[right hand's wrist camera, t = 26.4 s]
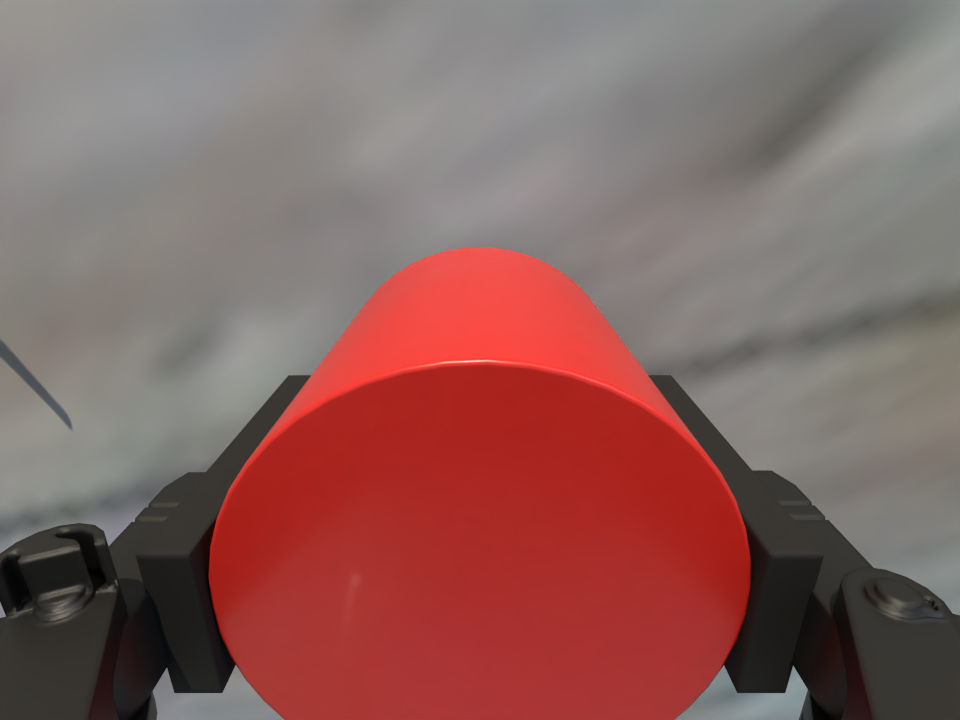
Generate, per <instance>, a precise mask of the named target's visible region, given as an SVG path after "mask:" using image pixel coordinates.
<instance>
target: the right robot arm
mask: <svg viewBox="0 0 960 720" xmlns="http://www.w3.org/2000/svg"><path fill="white" fill-rule="evenodd" d="M648 376H649V378H650V379H651V380H652V382H653V383H654V384H655V386H656V387H657V388H658V390H659V391H660V392H661V394H662V395H663V396H664V398H665V399H666V400H667V401H668V403H669V404H670V405H671V407H672V408H673V409H674V411H675V412H676V413H677V415H678V416H679V417H680V419H681V420H682V421H683V423H684V424H685V425H686V427H687V428H688V429H689V431H690V432H691V433H692V435H693V436H694V437H695V439H696V440H697V441H698V443H699V444H700V445H701V447H702V448H703V449H704V451H705V452H706V453H707V455H708V456H709V457H710V459H711V460H712V461H713V463H714V464H715V465H716V467H717V468H718V469H719V471H720V472H721V474H722V476H723V477H724V479H725V481H726V483H727V485H728V486H729V488H730V490H731V492H732V494H733V495H734V497H735V499H736V502H737V505H738V507H739V510H740V513H741V516H742V519H743V522H744V525H745V528H746V533H747V539H748V545H749V551H750V559H751V568H750V593H749V598H748V604H747V610H746V615H745V618H744V621H743V624H742V627H741V629H740V632H739V635H738V638H737V641H736V643H735V645H734V647H733V648H732V650H731V652H730V654H729V656H728V658H727V660H726V662H725V664H724V666H725V668H726V670H727V672H728V674H729V676H730V678H731V680H732V682H733V685H734V687H735V689H736V691H737V693H785V691H786V688H787V684H788V681H789V677H790V674H791V670H792V667H793V666H794V667H795V669H796V670H797V672H798V674H799V675H800V677H801V679H802V680H803V682H804V684H805V685H806V687H807V688H808V692H807V695H806V698H805V701H804V705H803V708H802V711H801V715H800V718H799V720H960V616H959V615H955V614H952V612H951V611H950V610H949V608H948V607H947V606H946V604H945V603H944V601H942V600H941V599H940V598H939V597H937V596H936V595H935V594H934V593H932V592H931V591H930V590H929V589H927V588H926V587H924V586H922V585H920V584H918V583H916V582H915V581H913V580H911V579H909V578H907V577H905V576H902V575H899V574H896V573H893V572H890V571H887V570H883V569H876V568H873V567H872V566H871V565H870V564H869V563H868V562H867V560H866V559H865V558H864V557H863V556H862V555H861V554H860V553H859V552H858V551H857V550H856V549H855V548H854V547H853V546H852V545H851V544H850V542H849V541H848V540H847V539H846V538H845V537H844V536H843V535H842V534H841V533H840V532H839V531H838V530H837V529H836V528H835V527H834V526H833V525H832V523H831V522H830V521H829V520H825V516H824V515H823V514H822V513H821V512H820V511H819V510H818V509H817V508H816V507H815V506H812V504H811V501H810V500H809V499H808V498H807V497H806V496H805V495H804V494H803V493H802V492H801V491H800V490H799V489H798V488H797V486H796V485H794V484H792V483H791V482H789V481H788V480H786V479H784V478H783V477H781V476H779V475H778V474H776V473H774V472H773V471H752V470H751V469H750V468H749V466H748V465H747V464H746V463H745V462H744V460H743V459H742V458H741V457H740V456H739V455H738V453H737V452H736V451H735V450H734V449H733V448H732V446H731V445H730V444H729V443H728V442H727V441H726V439H725V438H724V437H723V436H722V435H721V434H720V432H719V431H718V430H717V429H716V428H715V427H714V425H713V424H712V423H711V422H710V421H709V419H708V418H707V417H706V416H705V415H704V414H703V412H702V411H701V410H700V409H699V408H698V407H697V405H696V404H695V403H694V402H693V401H692V400H691V398H690V397H689V396H688V395H687V394H686V393H685V391H684V390H683V389H682V388H681V387H680V386H679V384H678V383H677V382H676V381H675V380H674V379H673V377H672V376H671V375H648ZM310 377H311V375H296V376H288V377H287V378H286V379H285V380H284V382H283V383H282V384H281V385H280V386H279V387H278V389H277V390H276V391H275V392H274V393H273V394H272V396H271V397H270V398H269V399H268V400H267V401H266V403H265V404H264V405H263V406H262V407H261V409H260V410H259V411H258V412H257V413H256V414H255V416H254V417H253V418H252V419H251V420H250V421H249V423H248V424H247V425H246V426H245V427H244V428H243V430H242V431H241V432H240V433H239V434H238V435H237V437H236V438H235V439H234V440H233V441H232V442H231V444H230V445H229V446H228V447H227V448H226V449H225V451H224V452H223V453H222V454H221V455H220V457H219V458H218V459H217V460H216V461H215V462H214V464H213V465H212V466H211V467H210V468H209V469H208V471H207V472H188V473H187V474H185V475H184V476H182V477H180V478H179V479H177V480H175V481H174V482H172V483H171V484H169V485H167V486H166V487H164V488H163V489H162V490H161V492H160V493H159V494H158V495H157V496H156V497H155V498H154V499H153V500H152V501H151V502H150V503H149V506H148V508H145V509H144V510H143V511H142V512H141V513H140V514H139V515H138V516H137V517H136V518H135V522H131V523H130V525H129V526H128V527H127V528H126V529H125V530H124V531H123V532H122V533H121V534H120V535H119V536H118V537H117V538H116V539H115V540H114V542H113V543H112V544H111V545H110V546H109V547H108V544H107V540H106V537H105V534H104V531H103V530H101V529H100V528H98V527H97V526H95V525H90V524H82V523H78V524H70V525H62V526H57V527H54V528H51V529H48V530H44V531H41V532H38V533H36V534H33V535H31V536H29V537H27V538H25V539H23V540H21V541H19V542H16V543H15V544H14V545H12V546H11V547H9V548H8V549H6V550H5V551H3V552H2V553H1V554H0V602H1V605H2V607H3V609H4V612H5V614H6V617H3V618H0V720H156V719H157V708H156V702H155V698H154V695H153V692H152V691H153V689H154V688H155V686H156V684H157V683H158V681H159V679H160V678H161V676H162V674H163V673H164V671H165V669H166V668H168V672H169V675H170V679H171V682H172V686H173V689H174V693H222V692H223V690H224V688H225V686H226V684H227V682H228V680H229V677H230V675H231V673H232V671H233V669H234V667H235V665H236V664H235V662H234V661H233V659H232V658H231V656H230V654H229V652H228V649H227V647H226V645H225V643H224V641H223V638H222V636H221V634H220V632H219V629H218V625H217V622H216V618H215V615H214V611H213V608H212V603H211V594H210V585H209V562H210V545H211V541H212V537H213V533H214V528H215V524H216V520H217V516H218V514H219V512H220V509H221V507H222V504H223V502H224V500H225V497H226V495H227V493H228V490H229V488H230V487H231V485H232V484H233V482H234V480H235V479H236V477H237V476H238V474H239V472H240V471H241V469H242V468H243V466H244V465H245V463H246V462H247V460H248V459H249V458H250V456H251V455H252V454H253V452H254V451H255V450H256V448H257V447H258V446H259V444H260V443H261V442H262V440H263V439H264V438H265V436H266V435H267V434H268V432H269V431H270V430H271V428H272V427H273V426H274V424H275V423H276V422H277V420H278V419H279V418H280V416H281V415H282V414H283V412H284V411H285V410H286V408H287V407H288V406H289V405H290V403H291V402H292V401H293V399H294V398H295V397H296V395H297V394H298V393H299V391H300V390H301V389H302V387H303V386H304V385H305V383H306V382H307V381H308V379H309V378H310Z"/></svg>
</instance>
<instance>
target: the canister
mask: <svg viewBox="0 0 960 720" xmlns="http://www.w3.org/2000/svg"><path fill="white" fill-rule="evenodd" d="M750 568H751V559H750V551H749V545H748V539H747V533H746V528H745V525H744V522H743V519H742V516H741V513H740V510H739V507H738V505H737V502H736V499H735V497H734V495H733V494H732V492H731V490H730V488H729V486H728V485H727V483H726V481H725V479H724V477H723V476H722V474H721V472H720V471H719V469H718V468H717V467H716V465H715V464H714V463H713V461H712V460H711V459H710V457H709V456H708V455H707V453H706V452H705V451H704V449H703V448H702V447H701V445H700V444H699V443H698V441H697V440H696V439H695V437H694V436H693V435H692V433H691V432H690V431H689V429H688V428H687V427H686V425H685V424H684V423H683V421H682V420H681V419H680V417H679V416H678V415H677V413H676V412H675V411H674V409H673V408H672V407H671V405H670V404H669V403H668V401H667V400H666V399H665V398H664V396H663V395H662V394H661V392H660V391H659V390H658V388H657V387H656V386H655V384H654V383H653V382H652V380H651V379H650V378H649V376H648V375H647V374H646V372H645V371H644V370H643V368H642V367H641V366H640V364H639V363H638V362H637V360H636V359H635V358H634V356H633V355H632V354H631V352H630V351H629V350H628V348H627V347H626V346H625V344H624V343H623V342H622V340H621V339H620V338H619V336H618V335H617V334H616V332H615V331H614V330H613V328H612V327H611V326H610V324H609V323H608V322H607V320H606V319H605V318H604V316H603V315H602V314H601V312H600V311H599V310H598V309H597V307H596V306H595V305H594V303H593V302H592V301H591V299H590V298H589V297H588V296H587V294H586V293H585V292H584V291H583V290H582V289H581V288H580V287H579V286H578V285H577V284H576V283H575V282H574V281H572V280H571V279H570V278H569V277H567V276H566V275H564V274H563V273H562V272H560V271H559V270H557V269H556V268H554V267H552V266H550V265H548V264H546V263H545V262H543V261H541V260H539V259H536V258H533V257H530V256H528V255H525V254H522V253H518V252H514V251H509V250H505V249H497V248H486V247H478V248H461V249H456V250H450V251H444V252H441V253H438V254H435V255H432V256H429V257H426V258H424V259H421V260H419V261H417V262H415V263H413V264H411V265H409V266H407V267H406V268H404V269H403V270H401V271H400V272H398V273H396V274H395V275H393V276H392V277H391V278H390V279H389V280H388V281H386V282H385V283H384V284H383V285H382V286H381V287H379V289H378V290H377V291H376V292H375V293H374V294H373V295H372V297H371V298H370V299H369V300H368V301H367V302H366V304H365V305H364V306H363V308H362V309H361V310H360V312H359V313H358V314H357V316H356V317H355V318H354V320H353V321H352V322H351V324H350V325H349V326H348V328H347V329H346V330H345V332H344V333H343V334H342V336H341V337H340V338H339V340H338V341H337V342H336V344H335V345H334V346H333V347H332V349H331V350H330V351H329V353H328V354H327V355H326V357H325V358H324V359H323V361H322V362H321V363H320V365H319V366H318V367H317V369H316V370H315V371H314V373H313V374H312V375H311V377H310V378H309V379H308V381H307V382H306V383H305V385H304V386H303V387H302V389H301V390H300V391H299V393H298V394H297V395H296V397H295V398H294V399H293V401H292V402H291V403H290V405H289V406H288V407H287V408H286V410H285V411H284V412H283V414H282V415H281V416H280V418H279V419H278V420H277V422H276V423H275V424H274V426H273V427H272V428H271V430H270V431H269V432H268V434H267V435H266V436H265V438H264V439H263V440H262V442H261V443H260V444H259V446H258V447H257V448H256V450H255V451H254V452H253V454H252V455H251V456H250V458H249V459H248V460H247V462H246V463H245V465H244V466H243V468H242V469H241V471H240V472H239V474H238V476H237V477H236V479H235V480H234V482H233V484H232V485H231V487H230V488H229V490H228V493H227V495H226V497H225V500H224V502H223V504H222V507H221V509H220V512H219V514H218V516H217V520H216V524H215V528H214V533H213V537H212V541H211V545H210V562H209V585H210V594H211V603H212V608H213V611H214V615H215V618H216V622H217V625H218V629H219V632H220V634H221V636H222V638H223V641H224V643H225V645H226V647H227V649H228V652H229V654H230V656H231V658H232V659H233V661H234V662H235V664H236V665H237V667H238V668H239V670H240V671H241V673H242V675H243V676H244V678H245V679H246V680H247V682H248V683H249V684H250V685H251V686H252V687H253V689H254V690H255V691H256V692H257V693H258V694H259V696H260V697H261V698H262V699H263V700H264V701H265V702H266V703H267V704H268V705H269V706H270V707H271V708H273V709H274V710H275V711H276V712H277V713H278V714H279V715H280V716H281V717H282V718H284V719H285V720H674V719H675V718H677V717H678V716H679V715H680V714H681V713H683V712H684V711H685V710H686V709H687V708H689V707H690V706H691V704H692V703H693V702H694V701H695V700H696V699H697V698H698V697H699V696H700V695H701V694H702V693H703V692H704V691H705V690H706V689H707V687H708V686H709V685H710V683H711V682H712V681H713V679H714V678H715V676H716V675H717V674H718V672H719V671H720V669H721V668H722V667H723V665H724V664H725V662H726V660H727V658H728V656H729V654H730V652H731V650H732V648H733V647H734V645H735V643H736V641H737V638H738V635H739V632H740V629H741V627H742V624H743V621H744V618H745V615H746V610H747V604H748V598H749V593H750Z"/></svg>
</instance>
